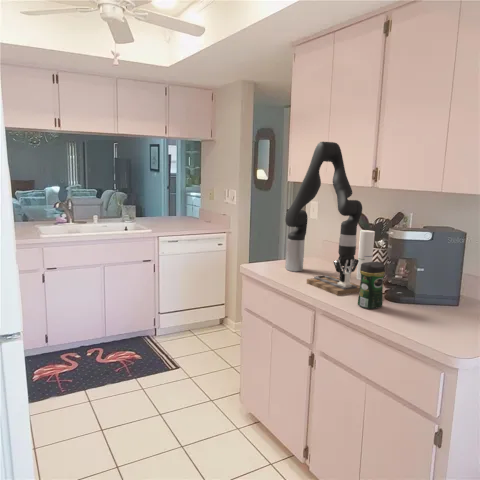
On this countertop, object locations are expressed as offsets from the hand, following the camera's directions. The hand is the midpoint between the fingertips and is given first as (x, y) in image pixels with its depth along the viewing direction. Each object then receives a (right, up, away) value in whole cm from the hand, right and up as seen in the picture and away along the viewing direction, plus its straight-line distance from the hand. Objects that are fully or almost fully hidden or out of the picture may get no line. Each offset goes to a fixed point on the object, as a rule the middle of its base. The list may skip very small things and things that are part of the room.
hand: (344, 281), depth 187 cm
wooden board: (-3, -4, +7) cm, 8 cm away
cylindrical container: (+16, -2, +24) cm, 28 cm away
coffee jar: (+5, -8, -20) cm, 23 cm away
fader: (0, -2, 0) cm, 2 cm away
